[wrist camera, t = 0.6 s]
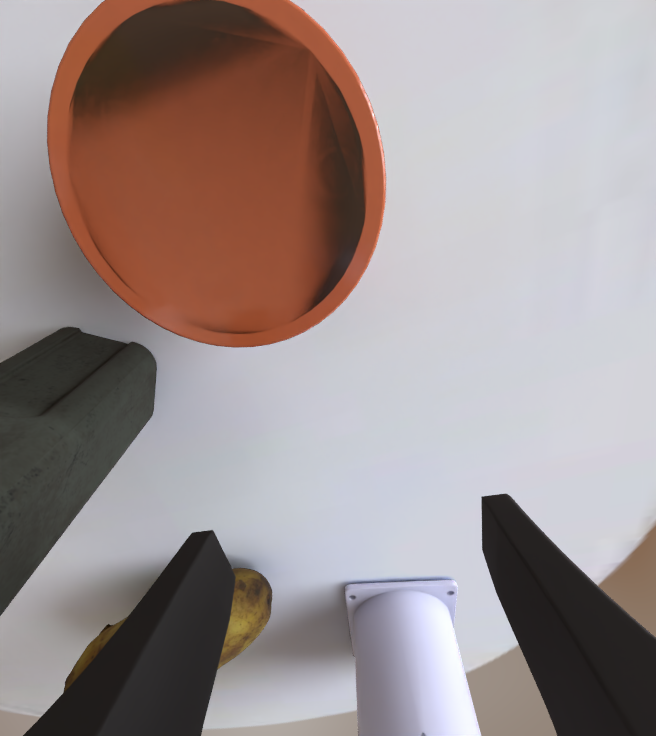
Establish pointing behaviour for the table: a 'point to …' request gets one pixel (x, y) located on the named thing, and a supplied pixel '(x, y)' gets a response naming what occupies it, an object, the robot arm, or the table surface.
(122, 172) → the flower pot
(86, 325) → the table surface
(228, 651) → the potato
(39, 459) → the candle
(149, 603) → the robot arm
